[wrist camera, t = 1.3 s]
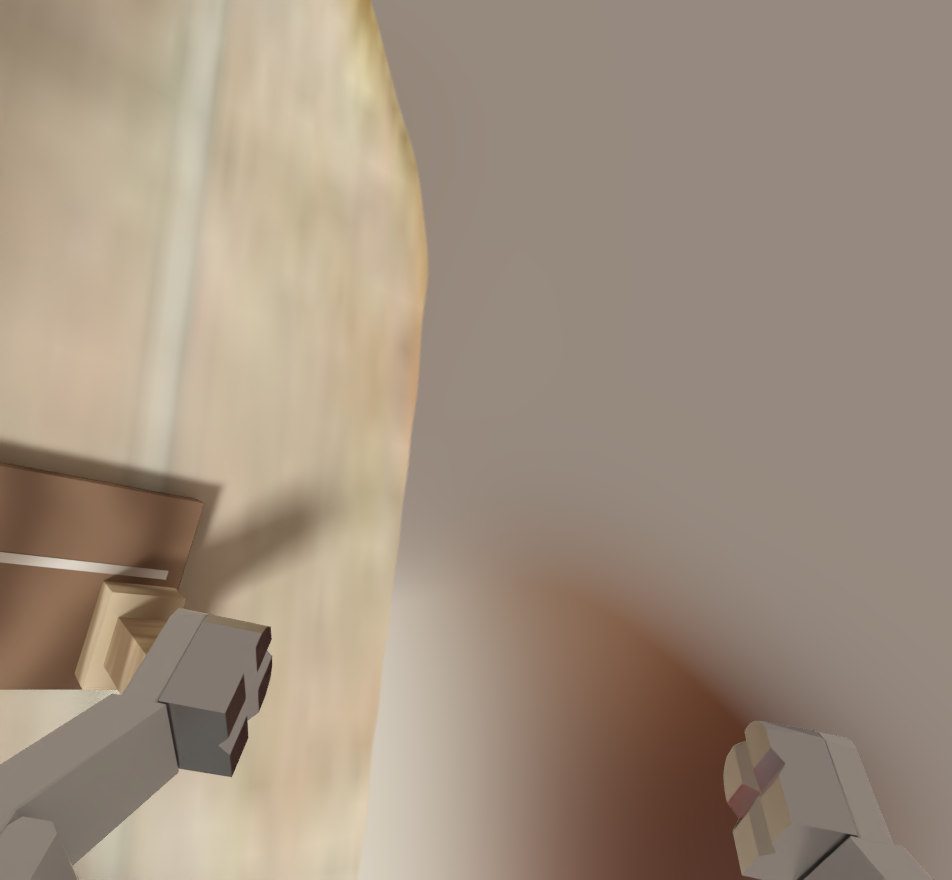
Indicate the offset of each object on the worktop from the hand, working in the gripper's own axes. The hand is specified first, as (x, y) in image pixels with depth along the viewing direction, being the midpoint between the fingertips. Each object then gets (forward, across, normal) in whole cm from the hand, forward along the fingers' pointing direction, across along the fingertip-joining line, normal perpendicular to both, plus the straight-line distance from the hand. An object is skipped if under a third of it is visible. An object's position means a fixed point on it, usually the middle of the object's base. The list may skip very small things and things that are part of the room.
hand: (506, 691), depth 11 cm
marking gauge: (+19, +21, +29) cm, 41 cm away
